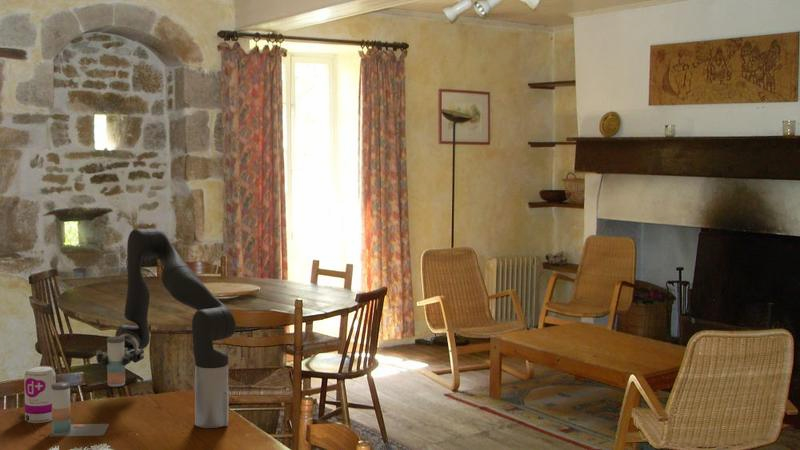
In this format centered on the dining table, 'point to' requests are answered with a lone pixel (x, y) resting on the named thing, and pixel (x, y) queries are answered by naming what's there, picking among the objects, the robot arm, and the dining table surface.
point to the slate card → (86, 430)
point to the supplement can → (38, 393)
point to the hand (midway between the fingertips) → (114, 362)
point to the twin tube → (61, 408)
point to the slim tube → (116, 361)
